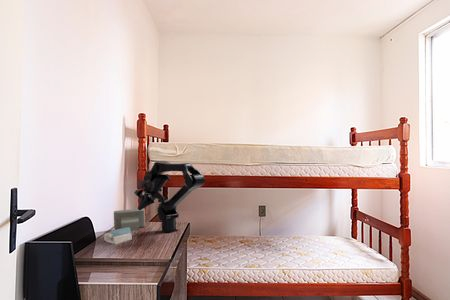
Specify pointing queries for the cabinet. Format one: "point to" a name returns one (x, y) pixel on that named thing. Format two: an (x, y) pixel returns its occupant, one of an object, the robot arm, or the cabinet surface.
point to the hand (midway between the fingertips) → (138, 209)
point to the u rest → (118, 238)
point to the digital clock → (129, 219)
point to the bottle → (119, 232)
